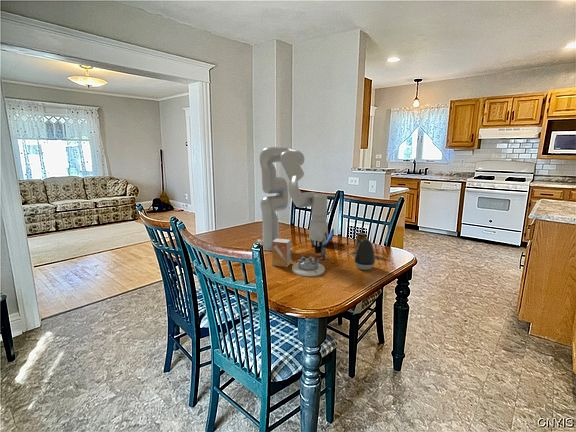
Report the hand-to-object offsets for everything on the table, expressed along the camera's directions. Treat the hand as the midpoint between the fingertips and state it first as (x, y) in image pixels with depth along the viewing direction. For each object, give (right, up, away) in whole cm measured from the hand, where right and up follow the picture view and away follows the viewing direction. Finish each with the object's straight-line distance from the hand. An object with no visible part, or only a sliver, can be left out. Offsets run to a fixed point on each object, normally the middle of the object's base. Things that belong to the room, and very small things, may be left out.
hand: (318, 252), depth 164 cm
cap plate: (-6, -8, -8) cm, 12 cm away
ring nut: (-3, -6, -6) cm, 9 cm away
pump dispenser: (+23, -8, -4) cm, 24 cm away
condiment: (+26, -3, +18) cm, 31 cm away
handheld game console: (+6, +1, +37) cm, 37 cm away
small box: (-19, -6, 0) cm, 20 cm away
